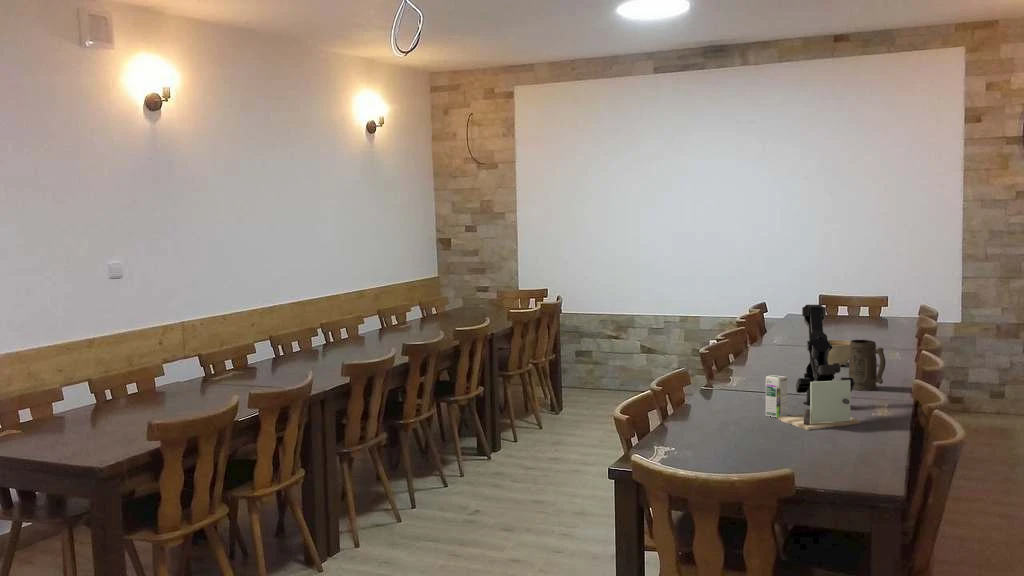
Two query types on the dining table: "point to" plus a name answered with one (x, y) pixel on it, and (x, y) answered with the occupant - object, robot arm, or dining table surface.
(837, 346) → the planter bowl
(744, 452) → the dining table surface
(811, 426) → the door stand
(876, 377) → the beer stein
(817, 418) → the door
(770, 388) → the syrup box
